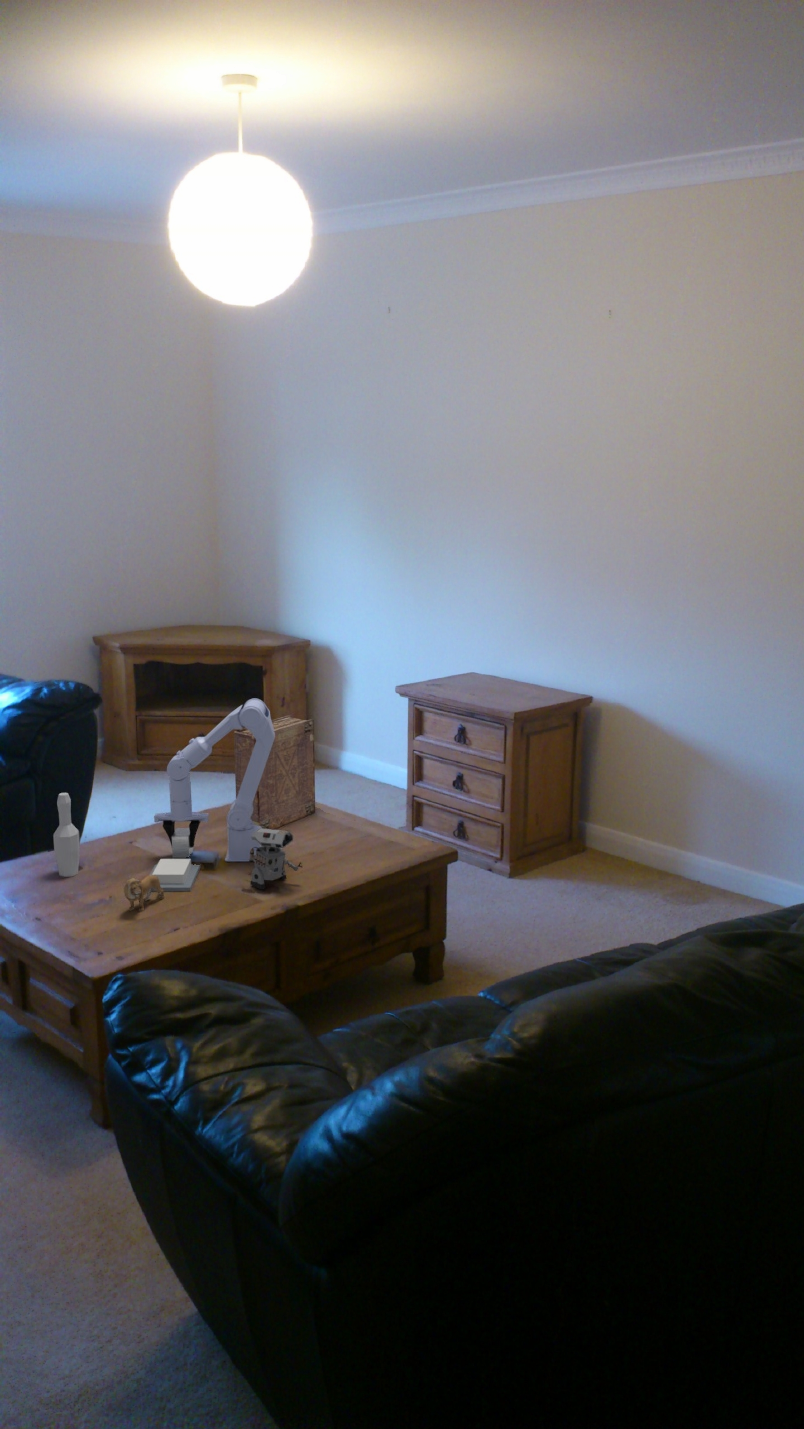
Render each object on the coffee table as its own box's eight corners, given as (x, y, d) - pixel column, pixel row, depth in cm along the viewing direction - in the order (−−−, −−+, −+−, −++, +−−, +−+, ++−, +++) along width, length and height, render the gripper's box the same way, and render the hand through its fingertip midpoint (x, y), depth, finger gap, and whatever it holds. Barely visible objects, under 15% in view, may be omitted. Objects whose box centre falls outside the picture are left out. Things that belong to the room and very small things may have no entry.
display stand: (200, 867, 294) (199, 855, 293) (190, 891, 278) (189, 878, 277) (155, 867, 293) (154, 855, 293) (142, 891, 278) (142, 878, 277)
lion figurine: (139, 918, 262) (137, 883, 260) (119, 915, 264) (117, 880, 261) (168, 895, 276) (167, 861, 274) (150, 892, 277) (148, 859, 275)
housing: (193, 848, 305) (192, 828, 303) (189, 857, 298) (188, 836, 296) (177, 848, 304) (176, 828, 303) (172, 857, 298) (171, 836, 296)
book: (292, 807, 344) (291, 714, 336) (315, 813, 338) (314, 718, 331) (236, 829, 323) (233, 731, 316) (259, 835, 318) (257, 736, 311)
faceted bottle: (74, 879, 286) (68, 798, 280) (51, 876, 287) (45, 796, 282) (85, 870, 292) (80, 791, 286) (63, 868, 293) (58, 789, 288)
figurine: (277, 896, 276) (276, 839, 272) (246, 884, 282) (244, 829, 279) (302, 885, 282) (302, 830, 279) (271, 874, 289) (270, 820, 286)
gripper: (209, 794, 301) (211, 841, 305) (156, 794, 301) (159, 841, 304) (205, 802, 295) (207, 850, 298) (151, 802, 294) (154, 850, 298)
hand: (182, 846), depth 301 cm, fingers closed on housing, 4 cm apart
